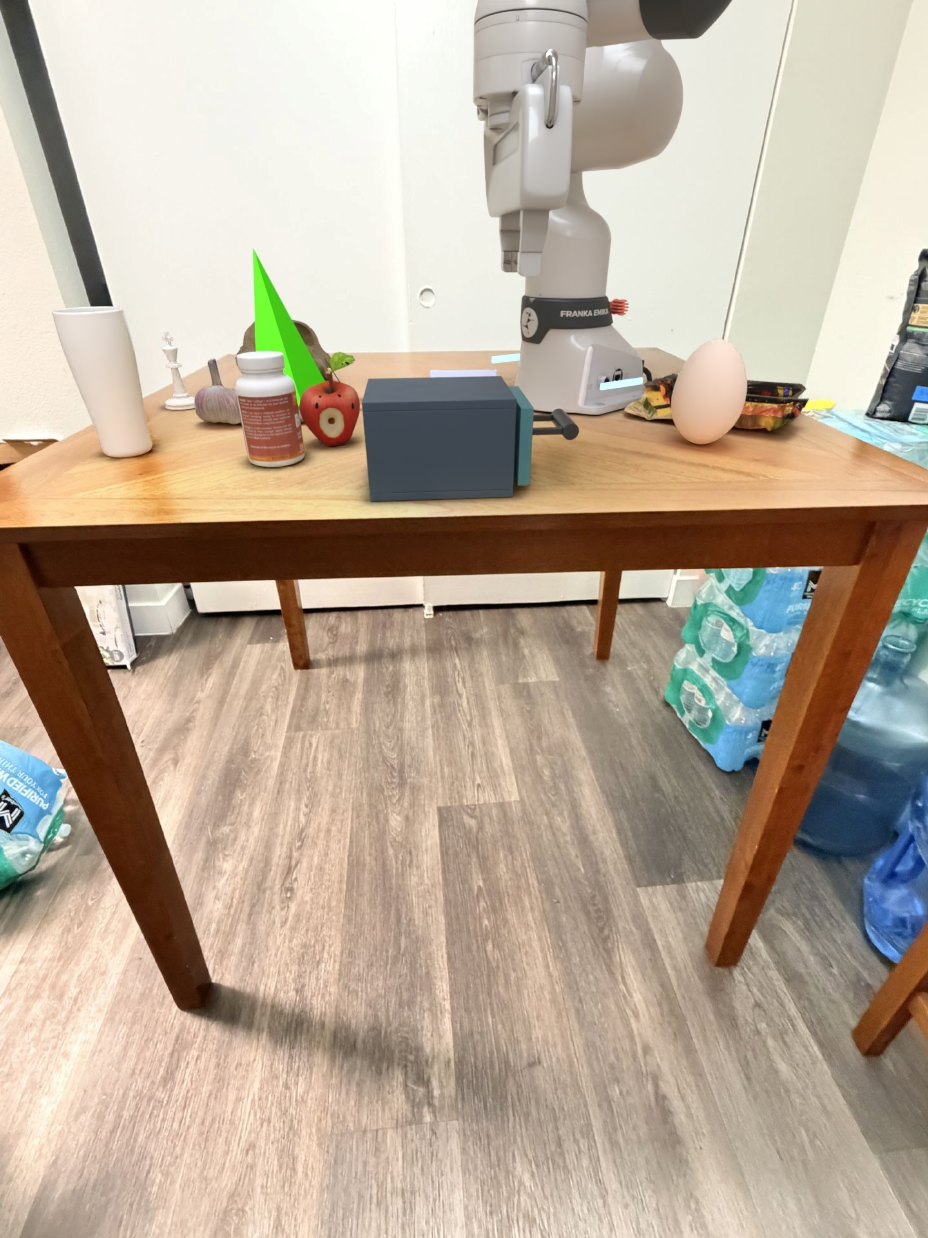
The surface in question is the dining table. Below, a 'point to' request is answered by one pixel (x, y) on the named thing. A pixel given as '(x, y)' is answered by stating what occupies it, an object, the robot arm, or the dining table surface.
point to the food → (761, 408)
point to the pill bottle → (268, 410)
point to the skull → (308, 338)
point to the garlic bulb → (217, 400)
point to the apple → (331, 406)
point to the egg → (709, 392)
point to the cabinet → (439, 438)
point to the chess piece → (176, 379)
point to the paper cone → (281, 333)
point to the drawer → (535, 433)
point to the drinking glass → (106, 376)
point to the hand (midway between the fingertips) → (518, 274)
